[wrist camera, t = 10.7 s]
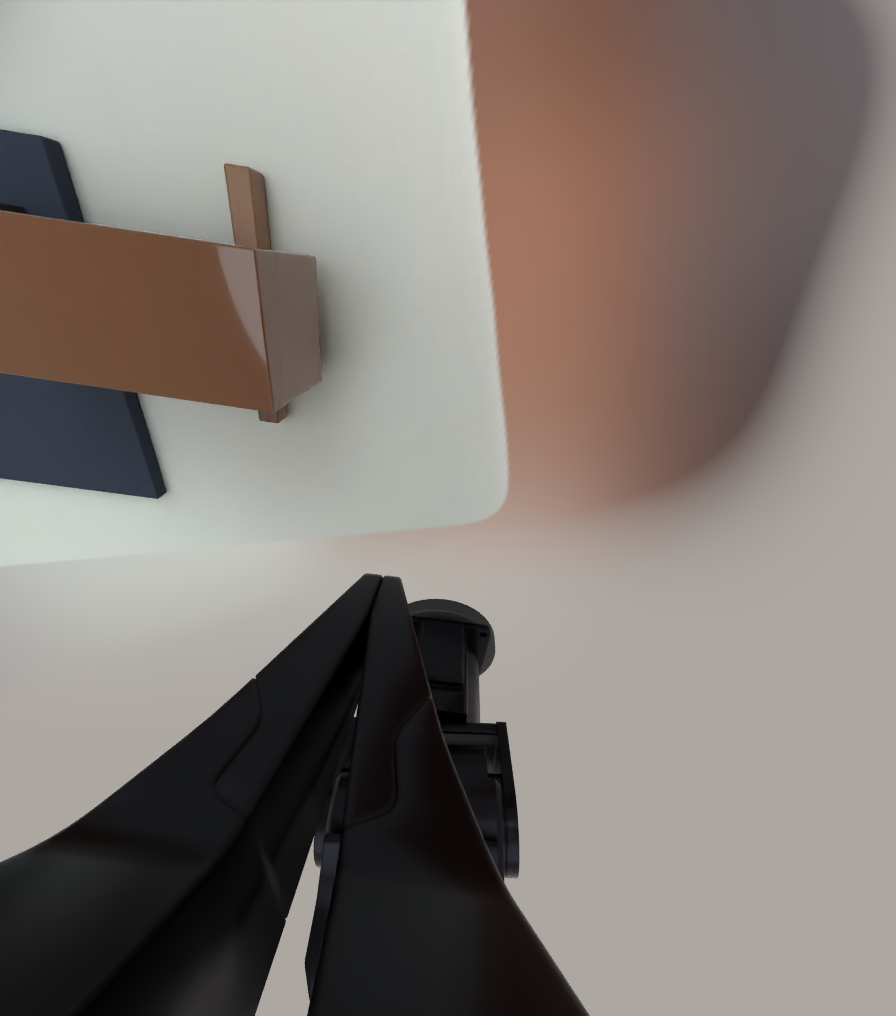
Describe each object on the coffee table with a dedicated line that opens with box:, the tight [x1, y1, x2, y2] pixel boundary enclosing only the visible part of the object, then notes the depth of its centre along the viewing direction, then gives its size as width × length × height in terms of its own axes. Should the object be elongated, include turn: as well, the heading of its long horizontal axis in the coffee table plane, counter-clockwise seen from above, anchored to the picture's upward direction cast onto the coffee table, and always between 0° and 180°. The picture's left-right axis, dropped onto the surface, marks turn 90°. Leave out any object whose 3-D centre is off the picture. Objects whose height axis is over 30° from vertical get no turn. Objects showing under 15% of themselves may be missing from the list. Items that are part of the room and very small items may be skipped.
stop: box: [224, 164, 287, 423], centre depth 17 cm, size 10×1×1 cm, turn 173°
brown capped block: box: [0, 203, 322, 412], centre depth 14 cm, size 5×5×13 cm
